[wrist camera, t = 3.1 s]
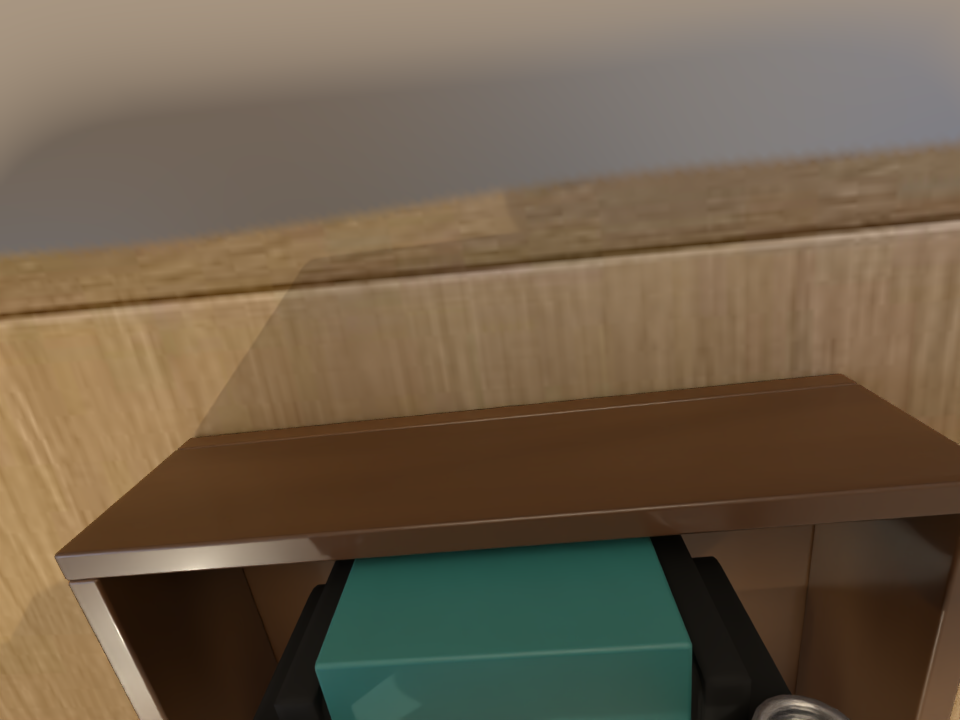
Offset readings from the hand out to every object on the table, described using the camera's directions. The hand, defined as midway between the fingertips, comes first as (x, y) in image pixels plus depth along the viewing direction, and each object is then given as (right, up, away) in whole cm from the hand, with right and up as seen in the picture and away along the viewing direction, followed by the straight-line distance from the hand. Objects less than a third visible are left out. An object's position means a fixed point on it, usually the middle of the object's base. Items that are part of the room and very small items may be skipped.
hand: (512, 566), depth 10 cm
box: (+1, -4, +3) cm, 5 cm away
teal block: (0, 0, +1) cm, 1 cm away
